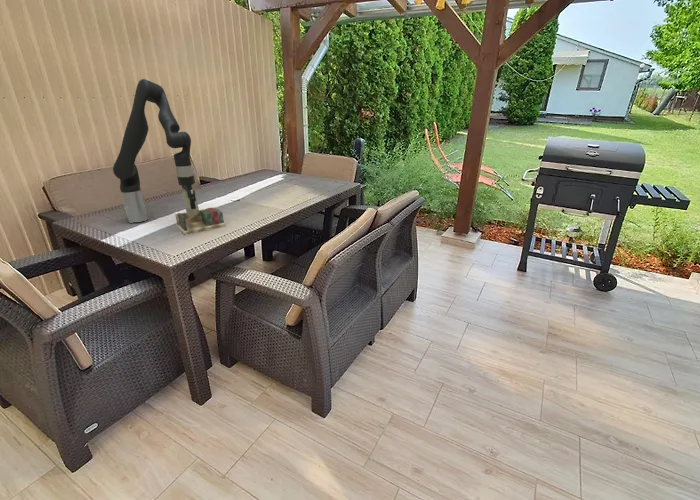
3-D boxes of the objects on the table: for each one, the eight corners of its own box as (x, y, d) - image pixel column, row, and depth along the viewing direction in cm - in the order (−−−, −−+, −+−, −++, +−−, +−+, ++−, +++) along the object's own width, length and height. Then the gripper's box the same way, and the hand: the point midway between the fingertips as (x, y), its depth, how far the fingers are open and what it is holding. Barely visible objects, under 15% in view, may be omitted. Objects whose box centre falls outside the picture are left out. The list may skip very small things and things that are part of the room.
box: (199, 212, 182) (195, 188, 176) (196, 215, 178) (192, 190, 172) (189, 212, 182) (184, 188, 176) (186, 215, 178) (181, 190, 172)
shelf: (184, 235, 175) (181, 219, 172) (177, 227, 184) (174, 212, 181) (225, 226, 187) (223, 211, 183) (217, 219, 196) (215, 205, 193)
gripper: (173, 173, 174) (180, 205, 181) (181, 178, 164) (187, 212, 171) (189, 171, 178) (195, 202, 185) (197, 176, 168) (203, 209, 175)
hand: (191, 207), depth 178 cm, fingers closed on box, 6 cm apart
